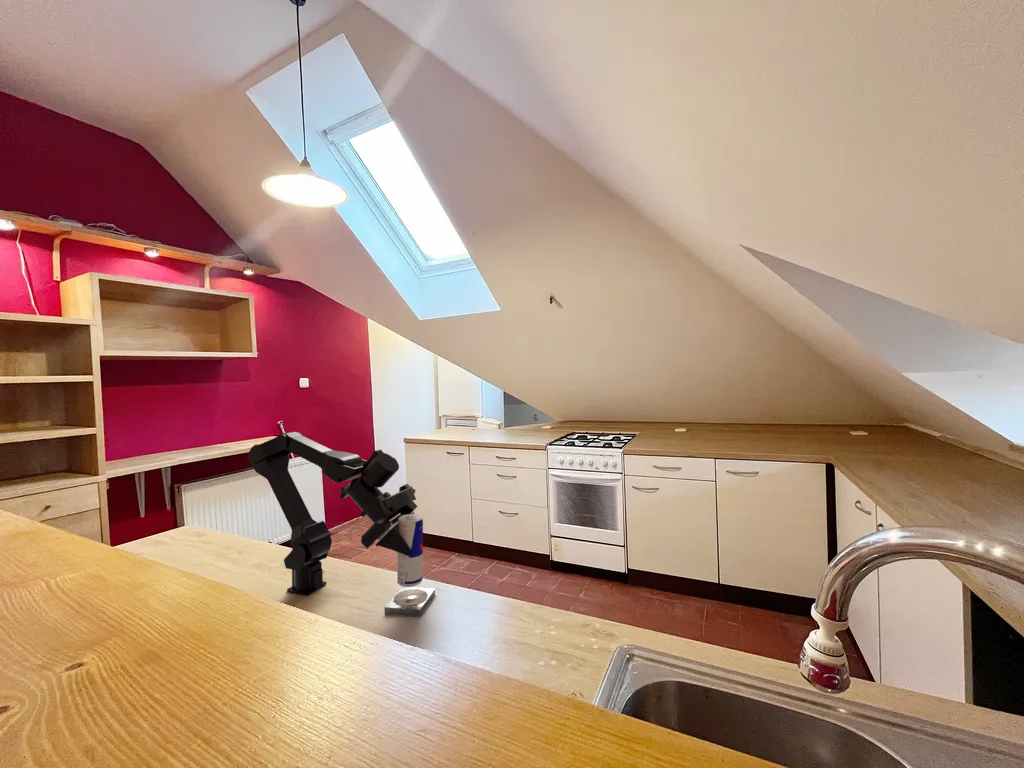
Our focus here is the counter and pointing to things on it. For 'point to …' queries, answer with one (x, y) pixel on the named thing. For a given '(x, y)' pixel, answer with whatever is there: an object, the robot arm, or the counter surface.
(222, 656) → the counter surface
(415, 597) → the plate
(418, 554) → the beverage can
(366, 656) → the counter surface
